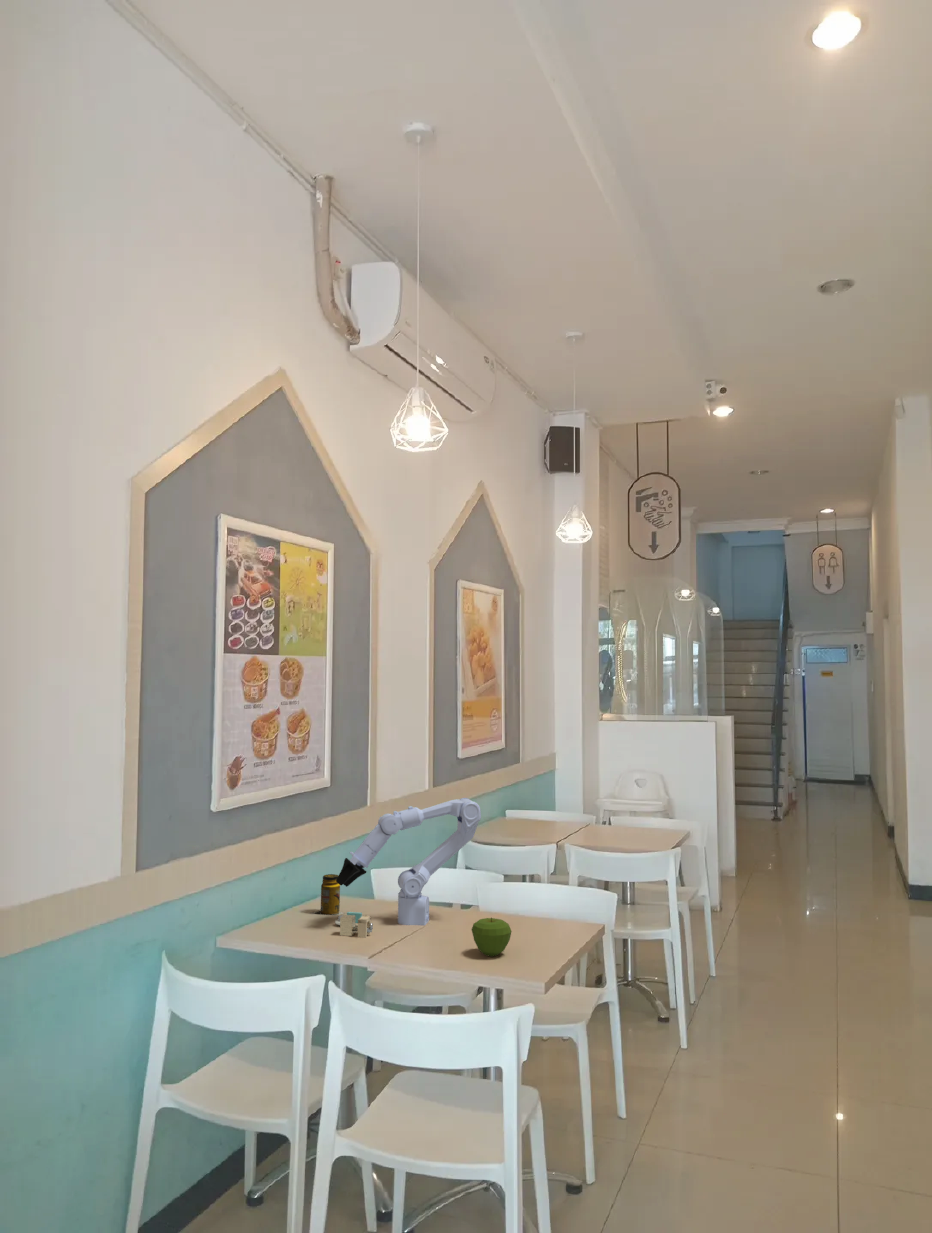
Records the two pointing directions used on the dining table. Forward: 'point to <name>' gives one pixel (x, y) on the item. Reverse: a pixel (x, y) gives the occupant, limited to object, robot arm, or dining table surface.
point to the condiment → (330, 896)
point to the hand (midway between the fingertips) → (341, 884)
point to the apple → (491, 935)
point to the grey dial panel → (363, 926)
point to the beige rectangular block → (350, 925)
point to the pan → (357, 914)
